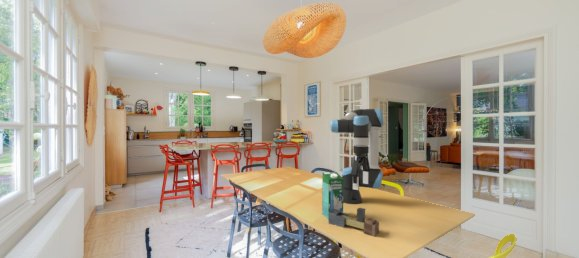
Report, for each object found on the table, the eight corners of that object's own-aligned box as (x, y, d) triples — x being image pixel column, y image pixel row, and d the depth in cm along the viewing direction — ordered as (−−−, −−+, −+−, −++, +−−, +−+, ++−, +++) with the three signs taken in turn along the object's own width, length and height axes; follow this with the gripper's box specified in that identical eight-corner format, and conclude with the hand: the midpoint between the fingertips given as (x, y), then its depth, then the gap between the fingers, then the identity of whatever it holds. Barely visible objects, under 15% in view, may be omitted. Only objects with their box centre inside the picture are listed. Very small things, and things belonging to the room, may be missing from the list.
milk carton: (328, 220, 132) (328, 175, 132) (322, 214, 141) (322, 172, 141) (343, 218, 135) (343, 174, 134) (336, 212, 144) (336, 171, 143)
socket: (368, 229, 121) (368, 217, 121) (378, 231, 118) (378, 219, 118) (363, 233, 116) (364, 220, 116) (374, 236, 113) (374, 223, 113)
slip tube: (341, 220, 129) (341, 203, 128) (373, 229, 118) (373, 210, 118) (339, 222, 126) (339, 205, 126) (371, 231, 115) (371, 212, 115)
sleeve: (334, 219, 133) (334, 208, 133) (349, 223, 128) (349, 212, 128) (328, 223, 128) (328, 212, 128) (343, 227, 123) (344, 216, 123)
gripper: (362, 143, 135) (362, 180, 135) (343, 147, 115) (343, 190, 116) (376, 143, 130) (376, 182, 131) (358, 148, 110) (358, 193, 111)
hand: (360, 186), depth 123 cm, fingers open, 13 cm apart
